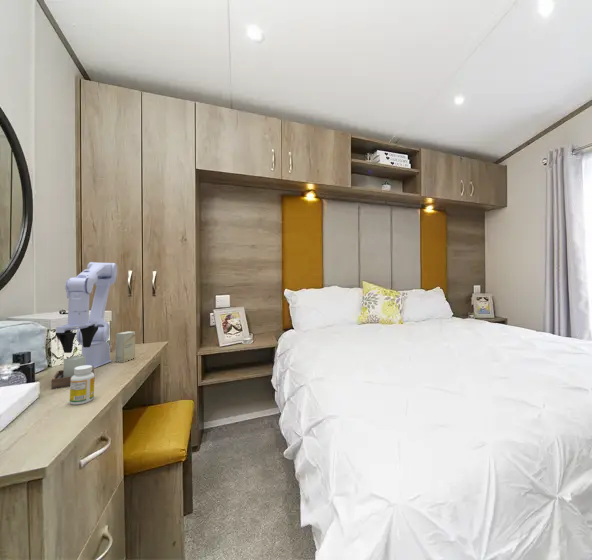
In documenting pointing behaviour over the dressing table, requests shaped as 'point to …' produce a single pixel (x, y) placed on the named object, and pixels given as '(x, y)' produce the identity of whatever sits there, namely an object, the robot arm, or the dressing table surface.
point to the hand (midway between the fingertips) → (77, 349)
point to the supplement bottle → (82, 385)
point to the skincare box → (125, 346)
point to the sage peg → (72, 365)
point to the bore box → (62, 379)
